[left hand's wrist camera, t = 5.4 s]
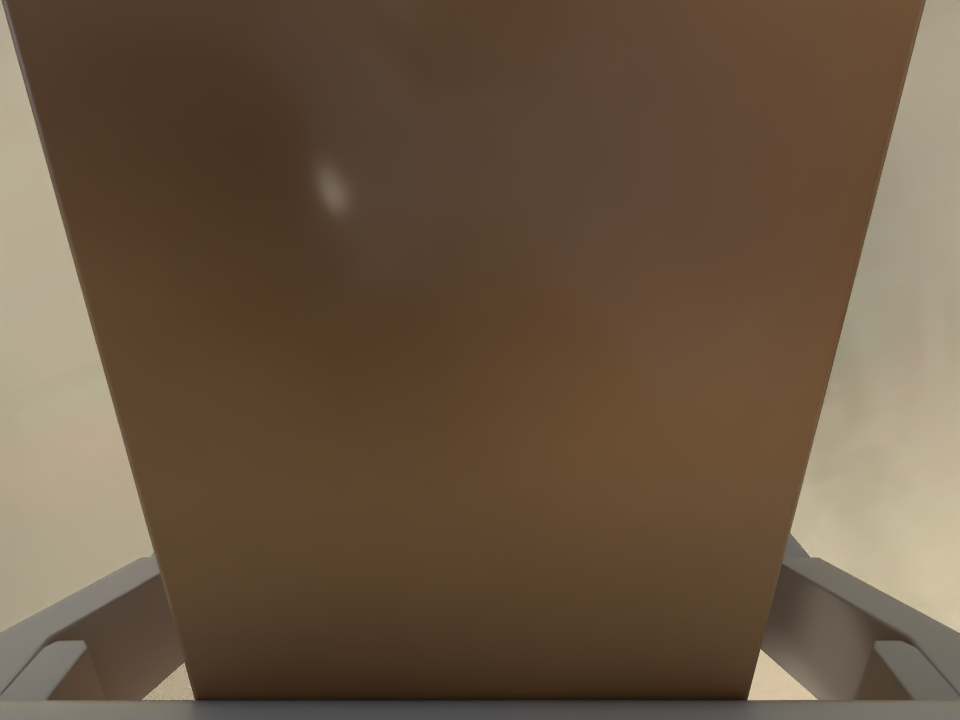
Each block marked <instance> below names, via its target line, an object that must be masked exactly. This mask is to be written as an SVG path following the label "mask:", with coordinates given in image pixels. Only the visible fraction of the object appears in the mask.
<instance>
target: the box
mask: <svg viewBox="0 0 960 720" xmlns="http://www.w3.org/2000/svg"><path fill="white" fill-rule="evenodd" d="M925 1H926V0H2V4H3V7H4V11H5V14H6V18H7V22H8V25H9V29H10V33H11V36H12V40H13V43H14V47H15V51H16V54H17V58H18V61H19V65H20V69H21V72H22V76H23V80H24V83H25V87H26V90H27V94H28V98H29V101H30V105H31V108H32V112H33V116H34V119H35V123H36V127H37V130H38V134H39V137H40V141H41V145H42V148H43V152H44V155H45V159H46V163H47V166H48V170H49V174H50V177H51V181H52V184H53V188H54V192H55V195H56V199H57V202H58V206H59V210H60V213H61V217H62V221H63V224H64V228H65V231H66V235H67V239H68V242H69V246H70V249H71V253H72V257H73V260H74V264H75V268H76V271H77V275H78V278H79V282H80V286H81V289H82V293H83V296H84V300H85V304H86V307H87V311H88V315H89V318H90V322H91V325H92V329H93V333H94V336H95V340H96V343H97V347H98V351H99V354H100V358H101V362H102V365H103V369H104V372H105V376H106V380H107V383H108V387H109V390H110V394H111V398H112V401H113V405H114V409H115V412H116V416H117V419H118V423H119V427H120V430H121V434H122V437H123V441H124V445H125V448H126V452H127V456H128V459H129V463H130V466H131V470H132V474H133V477H134V481H135V484H136V488H137V492H138V495H139V499H140V503H141V506H142V510H143V513H144V517H145V521H146V524H147V528H148V531H149V535H150V539H151V542H152V546H153V550H154V553H155V557H156V560H157V564H158V568H159V571H160V575H161V578H162V582H163V586H164V589H165V593H166V597H167V600H168V604H169V607H170V611H171V615H172V618H173V622H174V625H175V629H176V633H177V636H178V640H179V644H180V647H181V651H182V654H183V658H184V662H185V665H186V669H187V672H188V676H189V680H190V683H191V687H192V691H193V694H194V698H195V700H747V699H748V695H749V691H750V687H751V683H752V679H753V676H754V672H755V668H756V664H757V660H758V656H759V652H760V648H761V644H762V640H763V636H764V632H765V628H766V625H767V621H768V617H769V613H770V609H771V605H772V601H773V597H774V593H775V589H776V585H777V581H778V577H779V574H780V570H781V566H782V562H783V558H784V554H785V550H786V546H787V542H788V538H789V534H790V530H791V526H792V523H793V519H794V515H795V511H796V507H797V503H798V499H799V495H800V491H801V487H802V483H803V479H804V475H805V472H806V468H807V464H808V460H809V456H810V452H811V448H812V444H813V440H814V436H815V432H816V428H817V424H818V420H819V417H820V413H821V409H822V405H823V401H824V397H825V393H826V389H827V385H828V381H829V377H830V373H831V369H832V366H833V362H834V358H835V354H836V350H837V346H838V342H839V338H840V334H841V330H842V326H843V322H844V318H845V315H846V311H847V307H848V303H849V299H850V295H851V291H852V287H853V283H854V279H855V275H856V271H857V267H858V264H859V260H860V256H861V252H862V248H863V244H864V240H865V236H866V232H867V228H868V224H869V220H870V216H871V213H872V209H873V205H874V201H875V197H876V193H877V189H878V185H879V181H880V177H881V173H882V169H883V165H884V162H885V158H886V154H887V150H888V146H889V142H890V138H891V134H892V130H893V126H894V122H895V118H896V114H897V111H898V107H899V103H900V99H901V95H902V91H903V87H904V83H905V79H906V75H907V71H908V67H909V63H910V60H911V56H912V52H913V48H914V44H915V40H916V36H917V32H918V28H919V24H920V20H921V16H922V12H923V9H924V5H925Z"/></svg>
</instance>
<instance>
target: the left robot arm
mask: <svg viewBox="0 0 960 720" xmlns="http://www.w3.org/2000/svg"><path fill="white" fill-rule="evenodd" d="M760 649H761V650H762V651H764V652H765V653H766V654H767V655H768V656H769V657H770V658H772V659H773V660H774V661H775V662H776V663H777V664H778V665H780V666H781V667H782V668H783V669H784V670H785V671H786V672H787V673H789V674H790V675H791V676H792V677H793V678H794V679H795V680H797V681H798V682H799V683H800V684H801V685H802V686H803V687H805V688H806V689H807V690H808V691H809V692H810V693H811V694H812V695H814V696H815V697H816V698H817V699H818V700H142V699H143V698H144V697H145V696H146V695H148V694H149V693H150V692H151V691H152V690H153V689H154V688H156V687H157V686H158V685H159V684H160V683H161V682H162V681H164V680H165V679H166V678H167V677H168V676H169V675H170V674H172V673H173V672H174V671H175V670H176V669H177V668H178V667H179V666H181V665H182V664H183V663H184V658H183V654H182V651H181V647H180V644H179V640H178V636H177V633H176V629H175V625H174V622H173V618H172V615H171V611H170V607H169V604H168V600H167V597H166V593H165V589H164V586H163V582H162V578H161V575H160V571H159V568H158V564H157V560H156V557H155V553H153V554H152V555H151V556H150V557H149V558H140V559H138V560H136V561H134V562H132V563H130V564H128V565H127V566H125V567H123V568H121V569H119V570H117V571H115V572H113V573H112V574H110V575H108V576H106V577H104V578H102V579H100V580H98V581H97V582H95V583H93V584H91V585H89V586H87V587H85V588H84V589H82V590H80V591H78V592H76V593H74V594H72V595H70V596H69V597H67V598H65V599H63V600H61V601H59V602H57V603H55V604H54V605H52V606H50V607H48V608H46V609H44V610H42V611H41V612H39V613H37V614H35V615H33V616H31V617H29V618H27V619H26V620H24V621H22V622H20V623H18V624H16V625H14V626H12V627H11V628H9V629H7V630H5V631H3V632H1V633H0V720H960V633H958V632H956V631H955V630H953V629H951V628H949V627H947V626H945V625H943V624H941V623H940V622H938V621H936V620H934V619H932V618H930V617H928V616H927V615H925V614H923V613H921V612H919V611H917V610H915V609H914V608H912V607H910V606H908V605H906V604H904V603H902V602H900V601H899V600H897V599H895V598H893V597H891V596H889V595H887V594H886V593H884V592H882V591H880V590H878V589H876V588H874V587H873V586H871V585H869V584H867V583H865V582H863V581H861V580H859V579H858V578H856V577H854V576H852V575H850V574H848V573H846V572H845V571H843V570H841V569H839V568H837V567H835V566H833V565H832V564H830V563H828V562H826V561H824V560H822V559H820V558H810V556H809V555H808V554H807V553H806V551H805V550H804V549H803V548H802V547H801V545H800V544H799V543H798V542H797V541H796V539H795V538H794V537H793V536H792V534H791V533H790V534H789V538H788V542H787V546H786V550H785V554H784V558H783V562H782V566H781V570H780V574H779V577H778V581H777V585H776V589H775V593H774V597H773V601H772V605H771V609H770V613H769V617H768V621H767V625H766V628H765V632H764V636H763V640H762V644H761V648H760Z"/></svg>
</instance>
